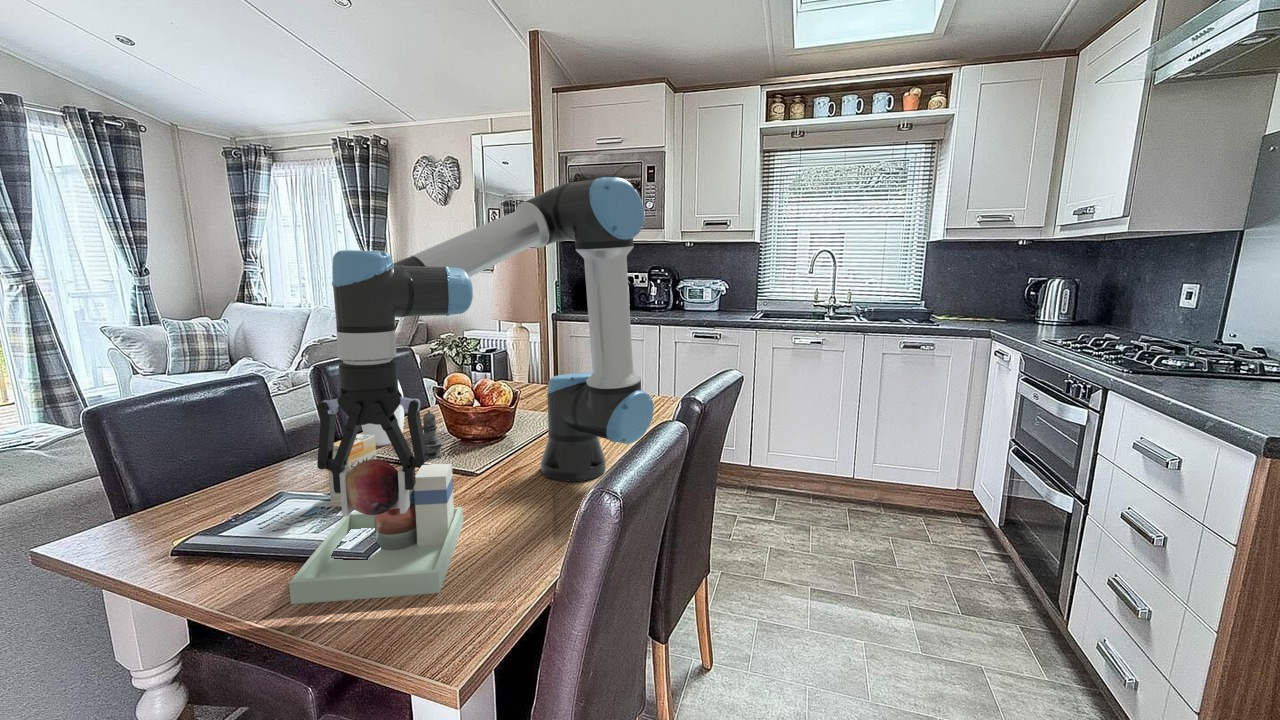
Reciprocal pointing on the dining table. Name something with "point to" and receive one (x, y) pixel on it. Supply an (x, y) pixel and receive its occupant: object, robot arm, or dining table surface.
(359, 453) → the supplement box
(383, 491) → the fruit
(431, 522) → the box
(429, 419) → the chess piece
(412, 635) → the dining table surface
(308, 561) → the tote
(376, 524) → the tin
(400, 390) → the bottle
